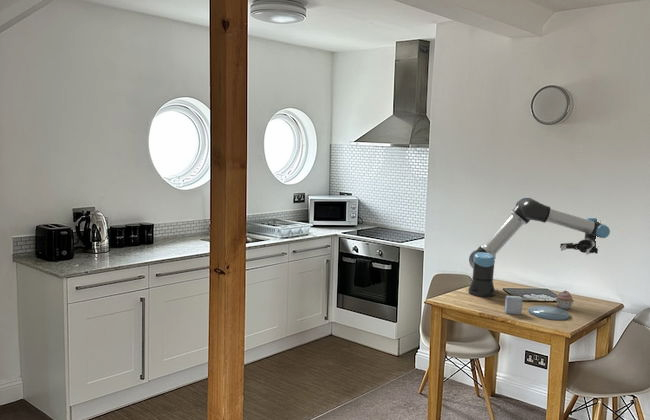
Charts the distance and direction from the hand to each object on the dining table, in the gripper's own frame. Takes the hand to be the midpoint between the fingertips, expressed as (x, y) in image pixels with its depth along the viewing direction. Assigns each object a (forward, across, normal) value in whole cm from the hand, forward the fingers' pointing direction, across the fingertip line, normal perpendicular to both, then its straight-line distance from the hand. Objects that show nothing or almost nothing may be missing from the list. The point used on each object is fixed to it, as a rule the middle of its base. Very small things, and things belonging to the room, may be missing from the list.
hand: (574, 250), depth 333 cm
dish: (+28, +2, -31) cm, 42 cm away
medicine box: (+40, +16, -31) cm, 53 cm away
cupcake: (+9, 0, -31) cm, 33 cm away
